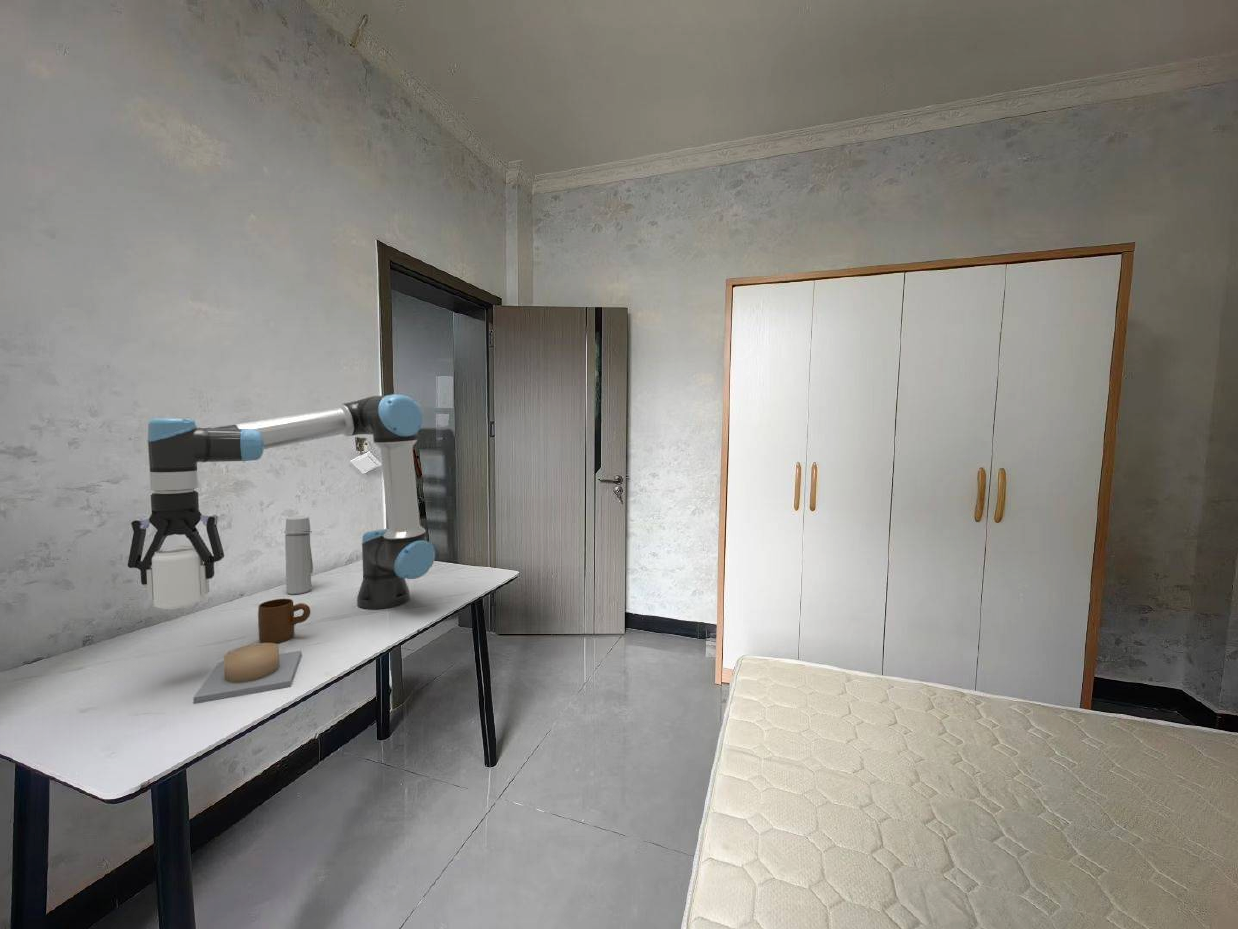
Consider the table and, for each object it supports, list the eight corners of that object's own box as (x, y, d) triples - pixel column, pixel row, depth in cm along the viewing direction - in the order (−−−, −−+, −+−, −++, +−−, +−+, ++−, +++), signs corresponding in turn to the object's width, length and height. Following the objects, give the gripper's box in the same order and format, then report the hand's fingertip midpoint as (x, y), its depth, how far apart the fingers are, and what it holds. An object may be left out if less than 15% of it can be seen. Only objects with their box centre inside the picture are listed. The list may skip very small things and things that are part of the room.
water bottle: (300, 596, 160) (298, 520, 158) (279, 594, 162) (277, 519, 160) (322, 587, 169) (320, 515, 167) (302, 585, 171) (301, 514, 169)
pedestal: (301, 655, 118) (300, 632, 118) (290, 686, 104) (289, 660, 103) (218, 668, 111) (217, 644, 111) (193, 703, 97) (192, 675, 96)
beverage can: (175, 598, 109) (172, 545, 109) (213, 597, 110) (211, 544, 109) (143, 611, 101) (140, 554, 101) (184, 610, 102) (182, 553, 101)
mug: (317, 631, 132) (317, 597, 131) (303, 643, 124) (302, 607, 124) (269, 633, 131) (269, 598, 130) (252, 645, 123) (250, 608, 122)
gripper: (240, 487, 112) (243, 585, 114) (117, 491, 103) (123, 597, 105) (230, 491, 105) (234, 595, 107) (98, 495, 96) (105, 608, 98)
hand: (179, 596), depth 106 cm, fingers closed on beverage can, 8 cm apart
